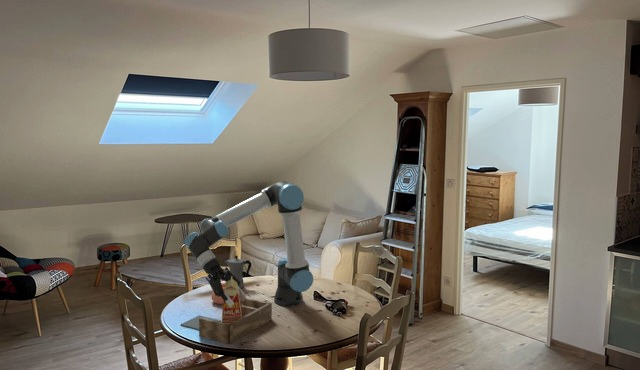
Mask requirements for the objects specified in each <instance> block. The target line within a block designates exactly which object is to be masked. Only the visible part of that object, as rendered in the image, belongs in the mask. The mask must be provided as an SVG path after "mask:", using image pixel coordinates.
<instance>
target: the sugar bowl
mask: <svg viewBox="0 0 640 370" xmlns="http://www.w3.org/2000/svg"><path fill="white" fill-rule="evenodd" d="M221 284H222V287H223V291H224V290H225V282H221ZM211 300H212V302H213V303H214V304H217V305H219V306H221V305H222V306H223V299H222V297H221V296H220V297H218V296H216V295H215V294H214V292H213V291H212V293H211Z"/></svg>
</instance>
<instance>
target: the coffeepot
mask: <svg viewBox="0 0 640 370" xmlns="http://www.w3.org/2000/svg"><path fill="white" fill-rule="evenodd" d="M238 257H239V256H238V255H234V258H232V259H226V260H224V263H226V265H227V267H228V269H229V271H230V272H231V273H232V274H233V275H234V276H235V277H236V278H237V279H238V280H239V281H240V285H239V287H240V288H241V289H242V288H244V287H245V284H244V283H245V282H244V277H243V272H244V266H245V264H246V265H247V269H246V272H244V275H246V276H247V275H249V273H250V271H251V268H252V262H251V261H250V260H245V259H242V258H238Z"/></svg>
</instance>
